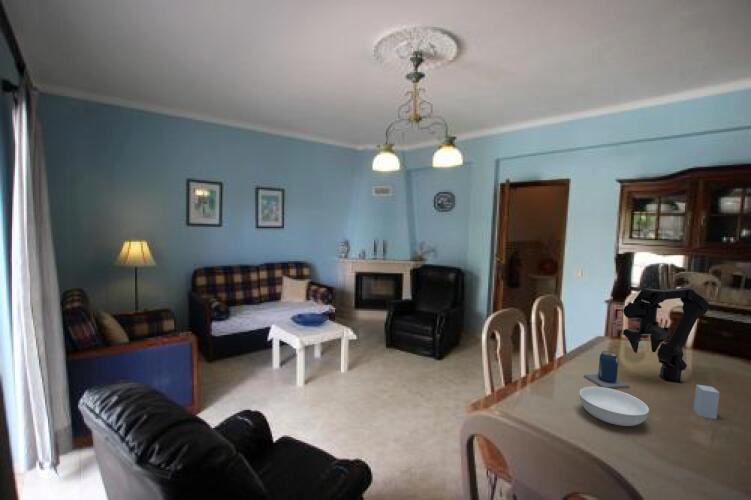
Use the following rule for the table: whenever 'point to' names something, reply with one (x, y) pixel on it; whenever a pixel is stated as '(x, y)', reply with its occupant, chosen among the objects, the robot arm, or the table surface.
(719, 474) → the table surface
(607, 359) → the soda can
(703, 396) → the gray block
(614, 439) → the table surface
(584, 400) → the serving bowl
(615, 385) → the mat
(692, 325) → the robot arm
